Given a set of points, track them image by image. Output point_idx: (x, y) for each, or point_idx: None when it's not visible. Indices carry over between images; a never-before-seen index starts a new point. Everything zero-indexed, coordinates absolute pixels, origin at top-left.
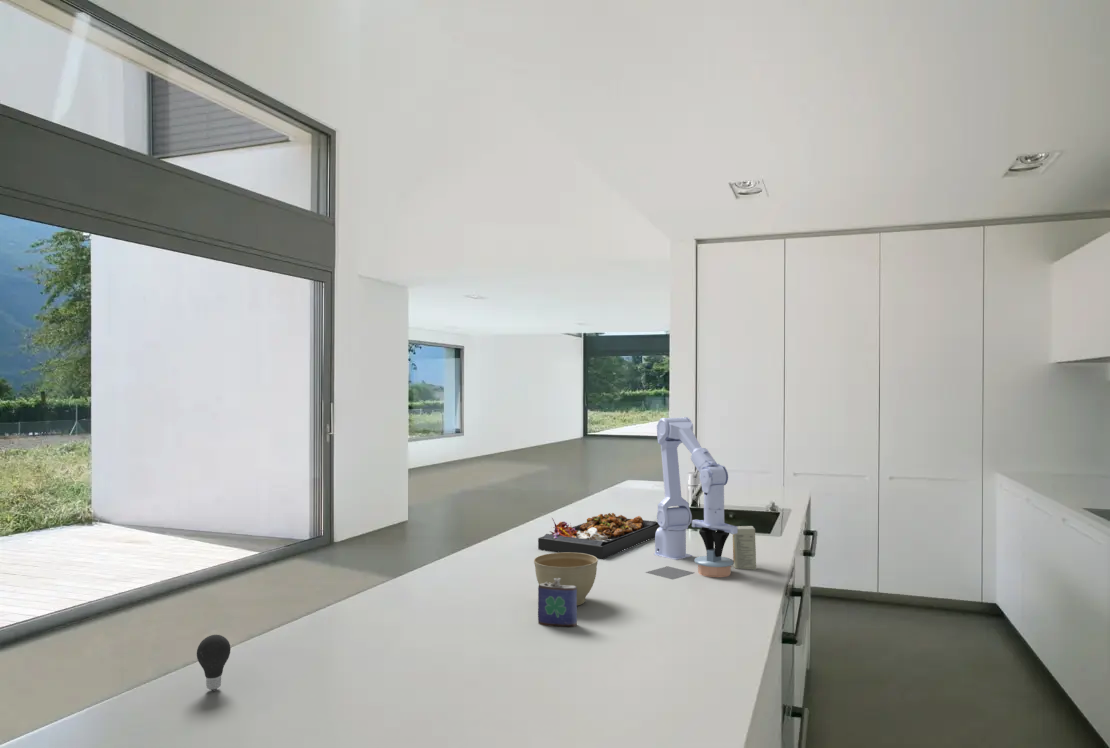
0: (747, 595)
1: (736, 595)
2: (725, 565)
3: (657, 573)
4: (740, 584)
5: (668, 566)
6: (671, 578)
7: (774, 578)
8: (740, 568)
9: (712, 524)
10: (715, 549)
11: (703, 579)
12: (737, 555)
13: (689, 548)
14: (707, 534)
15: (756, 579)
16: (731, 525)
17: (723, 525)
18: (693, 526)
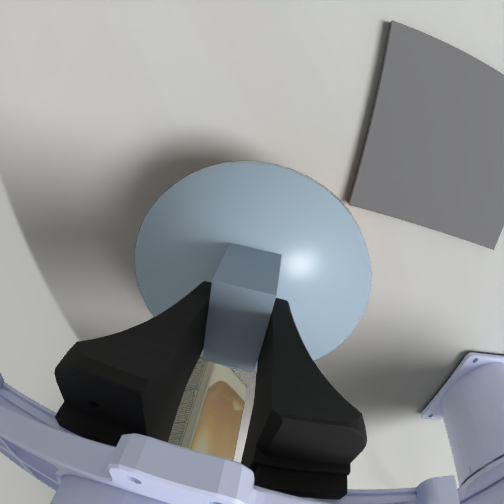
0: (25, 53)
1: (49, 21)
2: (143, 224)
3: (496, 96)
4: (90, 161)
5: (489, 247)
6: (403, 30)
7: (67, 306)
8: (199, 361)
9: (99, 491)
10: (196, 304)
11: (262, 129)
12: (194, 399)
13: (432, 456)
14: (261, 417)
15: (90, 267)
16: (20, 464)
17: (52, 474)
18: (440, 481)
